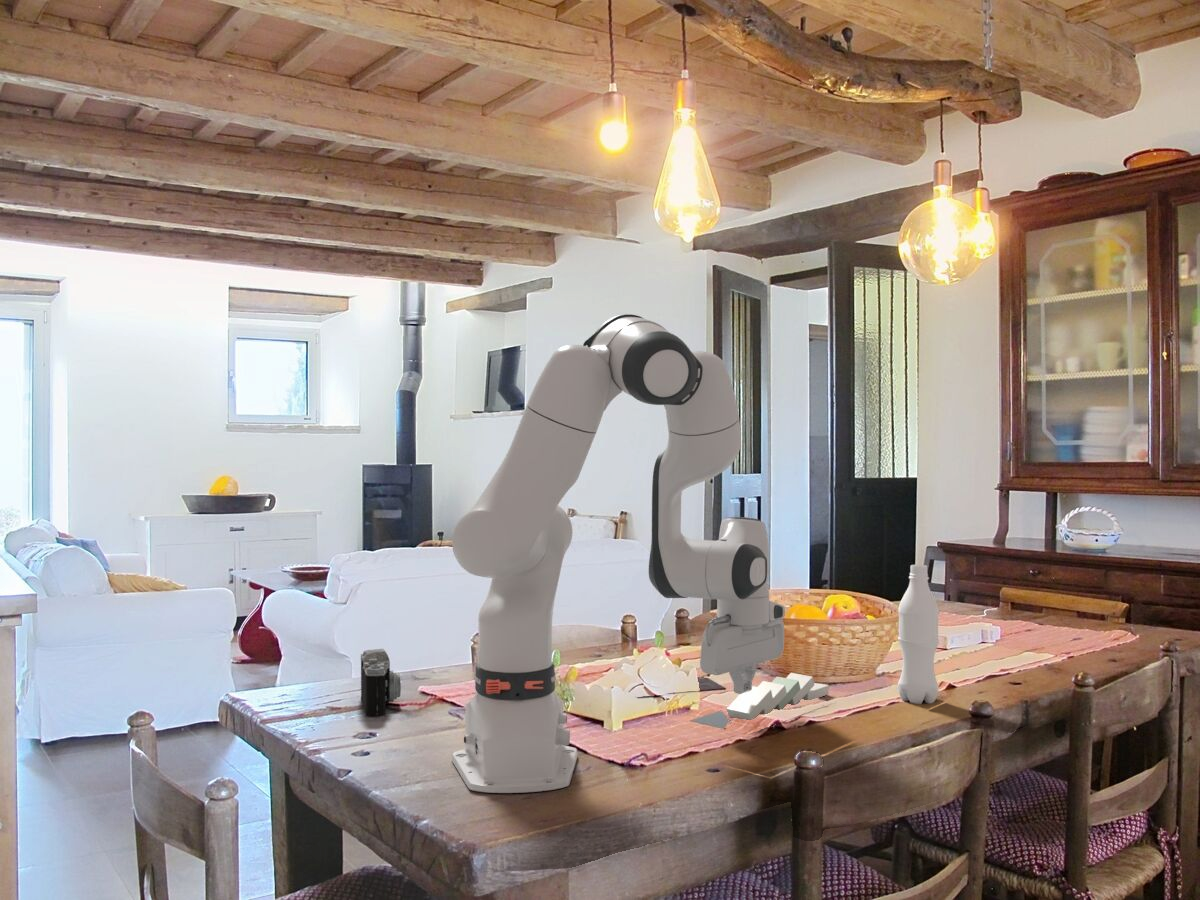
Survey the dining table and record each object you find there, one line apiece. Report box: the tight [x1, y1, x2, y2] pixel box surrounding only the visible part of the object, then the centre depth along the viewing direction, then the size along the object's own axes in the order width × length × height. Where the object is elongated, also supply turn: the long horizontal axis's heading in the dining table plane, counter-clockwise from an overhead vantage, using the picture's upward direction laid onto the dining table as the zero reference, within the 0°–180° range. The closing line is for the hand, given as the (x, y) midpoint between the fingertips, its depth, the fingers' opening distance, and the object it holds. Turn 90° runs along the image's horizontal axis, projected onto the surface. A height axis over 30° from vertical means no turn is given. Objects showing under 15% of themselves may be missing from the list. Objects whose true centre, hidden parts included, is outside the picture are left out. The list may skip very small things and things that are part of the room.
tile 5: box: [802, 682, 829, 700], centre depth 193 cm, size 2×5×7 cm
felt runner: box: [689, 709, 777, 729], centre depth 183 cm, size 28×12×1 cm, turn 137°
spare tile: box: [771, 676, 800, 710], centre depth 186 cm, size 2×5×7 cm
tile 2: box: [757, 680, 787, 714], centre depth 183 cm, size 2×5×7 cm
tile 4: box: [785, 672, 815, 705], centre depth 190 cm, size 2×5×7 cm
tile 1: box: [726, 685, 773, 720], centre depth 180 cm, size 2×5×7 cm
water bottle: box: [897, 564, 940, 705], centre depth 191 cm, size 7×7×25 cm
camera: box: [360, 648, 402, 719], centre depth 187 cm, size 15×7×10 cm, turn 17°
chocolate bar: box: [697, 677, 727, 692], centre depth 200 cm, size 9×1×18 cm
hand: (742, 692), depth 178 cm, fingers closed
